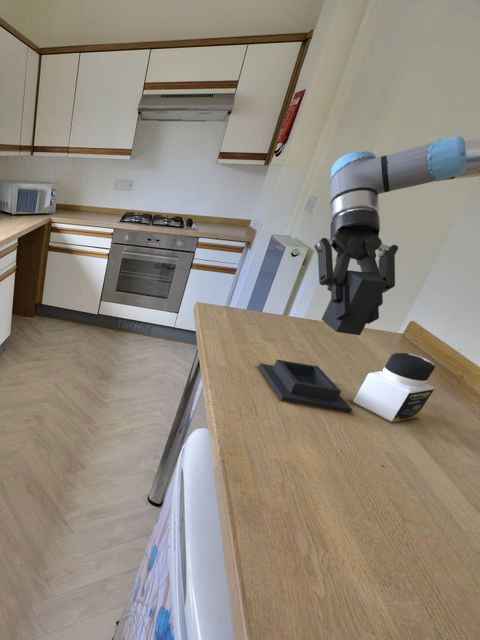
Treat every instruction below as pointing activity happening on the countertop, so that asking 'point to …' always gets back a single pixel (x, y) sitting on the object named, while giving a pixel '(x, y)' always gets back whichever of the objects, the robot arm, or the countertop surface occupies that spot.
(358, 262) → the robot arm
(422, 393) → the medicine bottle
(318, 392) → the base pad
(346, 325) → the upright block
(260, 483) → the countertop surface
